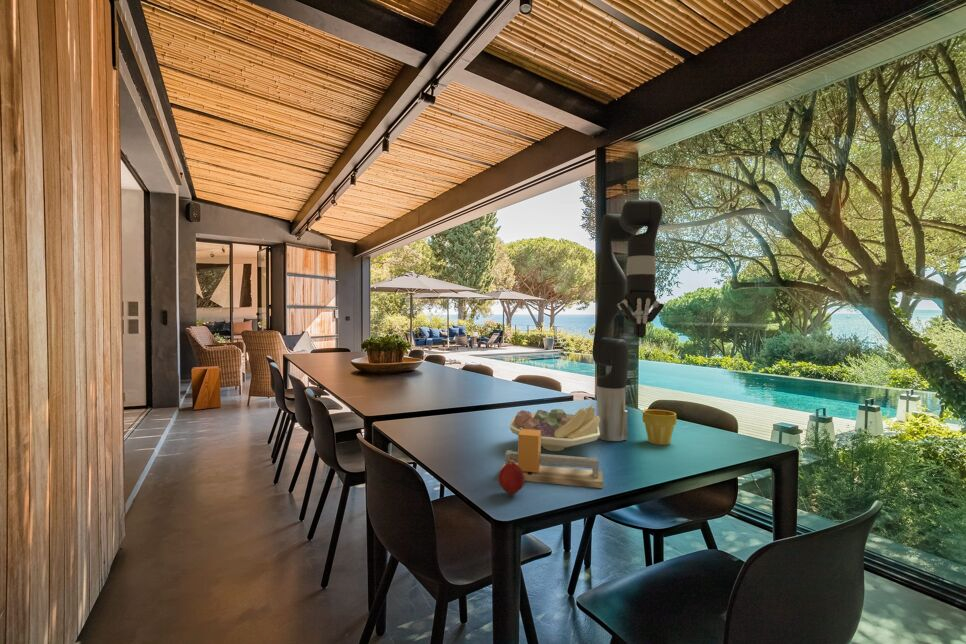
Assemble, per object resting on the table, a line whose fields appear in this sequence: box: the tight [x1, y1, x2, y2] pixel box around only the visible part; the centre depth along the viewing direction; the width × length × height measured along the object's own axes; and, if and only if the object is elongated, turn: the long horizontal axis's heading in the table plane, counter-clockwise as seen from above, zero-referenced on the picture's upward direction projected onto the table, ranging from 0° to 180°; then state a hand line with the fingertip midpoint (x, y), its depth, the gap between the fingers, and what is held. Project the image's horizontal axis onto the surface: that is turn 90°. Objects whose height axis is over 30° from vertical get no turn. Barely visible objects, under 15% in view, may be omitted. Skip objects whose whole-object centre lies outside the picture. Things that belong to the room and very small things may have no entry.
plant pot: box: [642, 409, 677, 446], centre depth 150 cm, size 10×10×10 cm
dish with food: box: [508, 404, 600, 452], centre depth 141 cm, size 28×28×14 cm
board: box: [498, 462, 604, 489], centre depth 116 cm, size 25×8×2 cm, turn 77°
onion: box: [498, 460, 525, 496], centre depth 104 cm, size 6×6×8 cm
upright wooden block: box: [517, 429, 542, 472], centre depth 117 cm, size 5×6×9 cm
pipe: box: [504, 449, 600, 478], centre depth 116 cm, size 23×3×4 cm, turn 77°
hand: (639, 337), depth 125 cm, fingers closed
